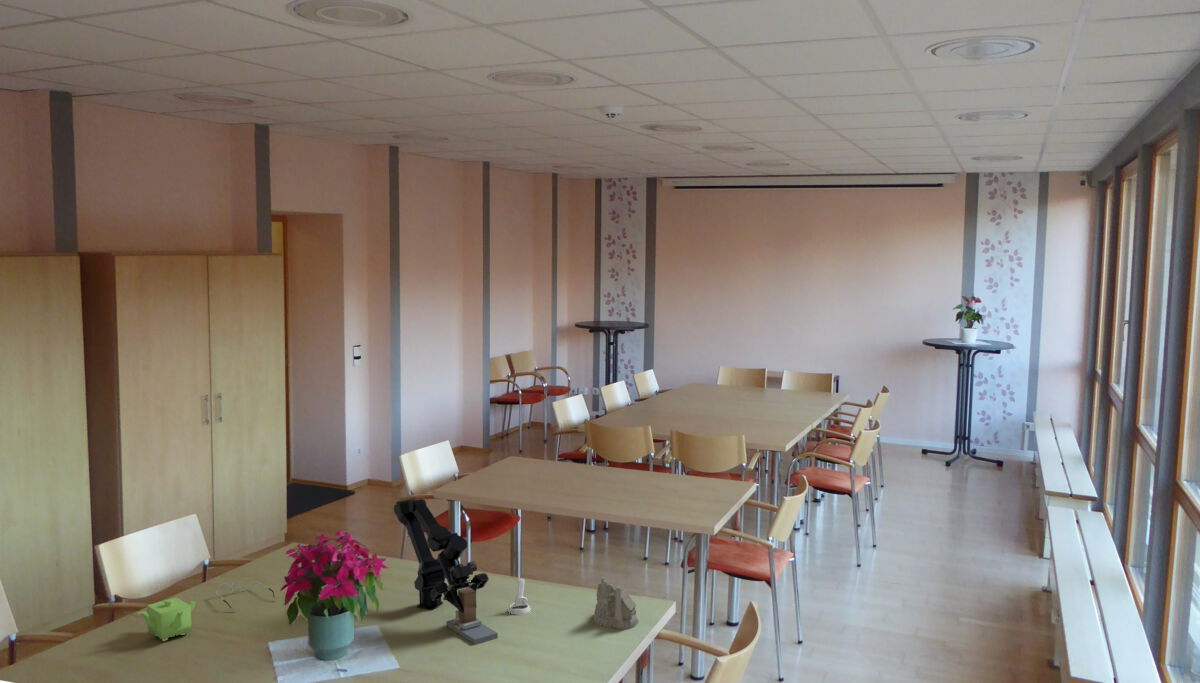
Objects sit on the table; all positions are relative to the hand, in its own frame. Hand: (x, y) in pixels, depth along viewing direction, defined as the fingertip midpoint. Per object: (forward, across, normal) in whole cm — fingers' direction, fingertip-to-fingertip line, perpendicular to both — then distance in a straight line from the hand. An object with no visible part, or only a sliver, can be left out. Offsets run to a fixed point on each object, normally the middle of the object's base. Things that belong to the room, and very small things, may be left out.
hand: (469, 610), depth 288 cm
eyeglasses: (-46, -48, +56) cm, 86 cm away
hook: (+2, +21, +8) cm, 23 cm away
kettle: (-35, -75, +44) cm, 94 cm away
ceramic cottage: (+20, +43, -10) cm, 48 cm away
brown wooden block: (+2, 0, +4) cm, 5 cm away
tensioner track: (+5, 0, +4) cm, 7 cm away
